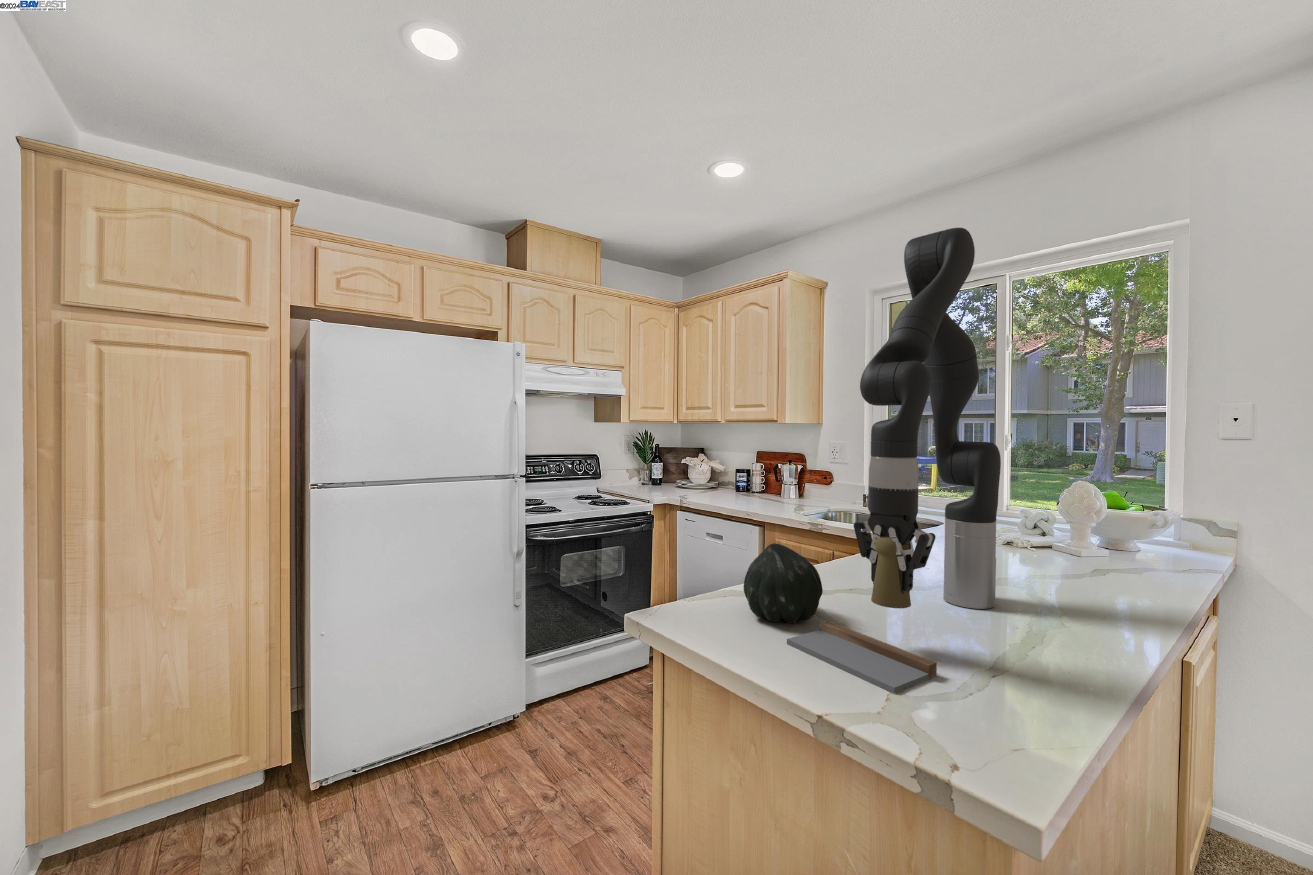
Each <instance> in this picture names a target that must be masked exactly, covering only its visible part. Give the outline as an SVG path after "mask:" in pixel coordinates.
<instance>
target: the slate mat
mask: <svg viewBox="0 0 1313 875" xmlns="http://www.w3.org/2000/svg"><path fill="white" fill-rule="evenodd" d="M786 644H787V645H789V646H791V647H792V648H795V649H798V650H800V651H801V652H803V653H806V654H808V655H810V656H812V657H815V658H816V659H818V660H821V661H822V662H825V663H827V664H830V665H832V666H834V667H836V668H838V669H840V670H843V671H844V672H847V673H849V674H851V675H853V676H855V677H858V678H860V679H862V680H864V681H866V682H869V683H870V684H873V685H875V686H877V687H879V688H881V689H884V690H885V691H888V692H890V693H891V694H896V693H899V692H901V691H904V690H907V689H909V688H911V687H914V686H916V685H918V684H921V683H923V682H925V681H928V680H929V679H928V677H929V674H927V673H925V672H922V671H920V670H918V669H915V668H913V667H910V666H908V665H905V664H903V663H900V662H898V661H896V660H893V659H891V658H888V657H886V656H883V655H881V654H878V653H876V652H873V651H871V650H869V649H866V648H864V647H861V646H859V645H856V644H854V643H851V642H849V641H846V640H844V639H842V638H839V637H837V636H834V635H832V634H829V633H827V632H824V631H822V630H820V629H817V630H815V631H810V632H806V633H803V634H799V635H797V636H792V637H788V638H786Z"/></svg>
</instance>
